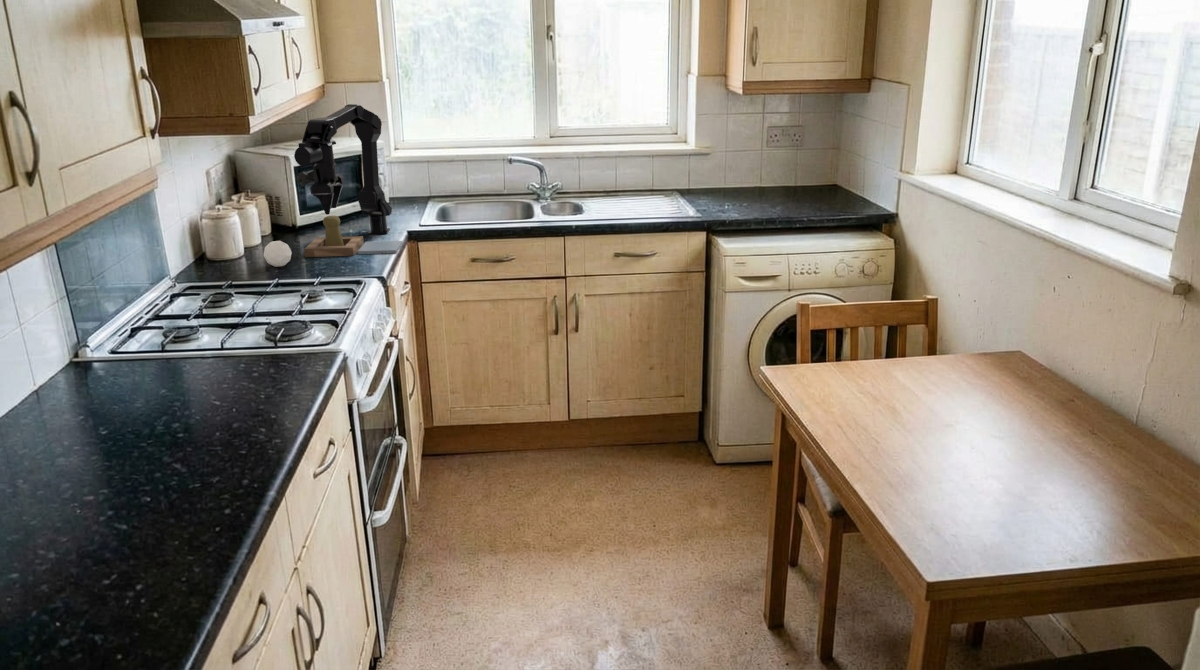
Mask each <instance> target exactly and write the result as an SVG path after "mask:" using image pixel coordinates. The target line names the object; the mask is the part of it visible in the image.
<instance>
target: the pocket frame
mask: <svg viewBox="0 0 1200 670" xmlns="http://www.w3.org/2000/svg"><path fill="white" fill-rule="evenodd" d="M325 240H326V236H325V237H323V236H322V237H320V236H319V237H318V236H317V237H316V238H314V239H313V240H312V241H311V242H310V243H309V244H308V245H306V246H305V248H304V249H303V251H304V258H312V257H313V258H314V257H317V258H318V257H352V256H353V255H354V256H355V255H356V254H357V253H358V250H359V249H360V248H361V247H362V245H363V244H364V243H365V241H364V236H363V235H361V236H354V235H353V236H342V240H343V243H344V246H325Z"/></svg>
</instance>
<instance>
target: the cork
mask: <svg viewBox="0 0 1200 670" xmlns="http://www.w3.org/2000/svg"><path fill="white" fill-rule="evenodd" d="M322 224H323V226H324V227H325V237H326V240H325V246H344V243H343V240H342V237H343V236H342V232H341V229H340V225H341V219H340V217H339V216H337V215H328V216H325V217H324V218H323V219H322Z"/></svg>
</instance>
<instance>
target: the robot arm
mask: <svg viewBox="0 0 1200 670" xmlns="http://www.w3.org/2000/svg"><path fill="white" fill-rule="evenodd" d="M348 123H350V124H351V125H352V126H354V130H355V134H356V136H357V137H358V139H359V141H360V142H361V143H360V144H361V156H362V157H361V159H362V172H363V173H362V176H363V187H362V189H361V190H359V191H358V194H357V195H358V204H359V208H360V211H361V212H362V215H363V216H368V220H369V229H370V230H369V231H368V232H367V234H368V235H387V234H388V233H389V232H390V231H391V228H389V227H388V223H387V220H388V219H387V217H388V216H391V215H392V212H393V208H392V206H391V205H390V203H389V202H388V201H387V200H386V194H385V192H384V191H383V189H382V187H381V186H380V180H379V179H380V178H379V175H380V174H379V160H378V157H379V156H378V145H377V144H378V143H377V142H378V140H379V138H380V136H381V134H382V119H381V118H380V117H379V115H377V114H375V113H374V112H373V111H370V110H368V109H367V108H365V107H363V106H362V105H360V104H353V103H352V104H346V105H344V107H342V108H341V109H338V110H337V111H335V112H332V113H331V114H329V115H328V116H324V117H317V118H312V119H311V118H310V119H309V120H308V121H307V124H306V127H305V131H304V134H303V137H302V140H301V142H299V143H298V144H297V145H298V147H297V148H296V149H295V151H294V153H293V155H294V161H295V162H296V164H298V166H300V167H305V168H306V167H308V166H312V165H313V166H312V170H309V171H307V172H306V171H304V170H303V171H301V172H300V173H299V172H298V175H297V177H296V178H297V183H299V184H300V186H301V187H305V186H307V185H308V184H311V183H313V184H311V186H310V187H309V190H310V194H311V195H312V196H314V197H315V198H317V199H318V200H319V203H320V204H321V207H322V209H323V211H324V212H323V213H324V214H325V215H330V214H331V208H332V209H336V208H337V206H338V203H339V200H340V196H341V192H342V189H343V187H344V183H345V177H344V176H343V175H342V174H340V173H336V167H337V162H335V158H334V150H333V146H334V145H337V142H336V141H335V139H333V137H334V136H335V135H336V134H337V133H338V130H339V129H340V128H342V127H344V126H345V125H347V124H348Z"/></svg>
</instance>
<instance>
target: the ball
mask: <svg viewBox="0 0 1200 670" xmlns="http://www.w3.org/2000/svg"><path fill="white" fill-rule="evenodd" d="M263 258H264V259H265V261H266V262H267V264H269V265H271V266H273V267H275V268H277V267H278V268H279V267H284V266H286V265H287V264H288V263H289V262H290V261H291V259H292V250H291V247H290V246H289V244H287V243H285V242H283V241H281V240H275V241H270V242H269V243H268V244H266V246H264V251H263Z"/></svg>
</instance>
